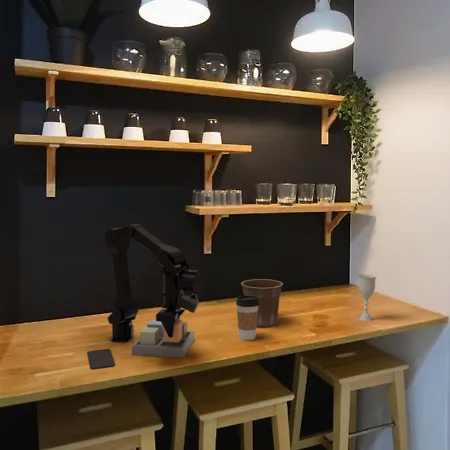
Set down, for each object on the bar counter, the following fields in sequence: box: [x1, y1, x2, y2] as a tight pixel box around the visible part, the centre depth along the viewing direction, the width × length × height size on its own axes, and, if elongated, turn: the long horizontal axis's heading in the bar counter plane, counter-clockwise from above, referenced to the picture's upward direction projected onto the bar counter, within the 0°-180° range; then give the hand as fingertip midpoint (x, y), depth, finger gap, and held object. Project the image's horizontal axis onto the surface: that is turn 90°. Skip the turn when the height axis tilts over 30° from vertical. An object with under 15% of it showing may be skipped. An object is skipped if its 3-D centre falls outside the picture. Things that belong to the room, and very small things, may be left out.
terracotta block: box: [163, 319, 183, 342], centre depth 151 cm, size 5×5×6 cm
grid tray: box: [131, 319, 195, 358], centre depth 156 cm, size 17×17×7 cm
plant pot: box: [241, 278, 284, 328], centre depth 182 cm, size 16×16×16 cm
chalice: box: [357, 273, 378, 322], centre depth 187 cm, size 7×7×18 cm
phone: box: [86, 348, 116, 370], centre depth 145 cm, size 7×1×15 cm
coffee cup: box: [235, 295, 259, 341], centre depth 165 cm, size 8×8×15 cm
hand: (172, 334), depth 151 cm, fingers closed on terracotta block, 5 cm apart
